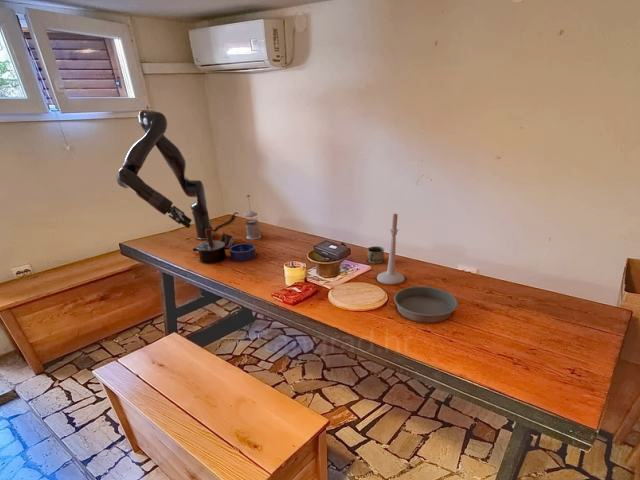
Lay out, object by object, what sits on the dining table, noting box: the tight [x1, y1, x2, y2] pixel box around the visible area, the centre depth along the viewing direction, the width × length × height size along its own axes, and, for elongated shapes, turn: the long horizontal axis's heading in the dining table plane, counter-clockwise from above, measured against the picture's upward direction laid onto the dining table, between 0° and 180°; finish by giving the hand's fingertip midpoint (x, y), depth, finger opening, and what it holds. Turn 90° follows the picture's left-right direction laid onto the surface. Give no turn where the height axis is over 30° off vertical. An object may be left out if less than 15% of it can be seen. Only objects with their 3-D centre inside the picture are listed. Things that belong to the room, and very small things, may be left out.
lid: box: [196, 229, 225, 251], centre depth 192 cm, size 15×15×10 cm
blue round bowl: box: [228, 243, 257, 262], centre depth 199 cm, size 14×14×5 cm
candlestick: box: [376, 213, 405, 285], centre depth 163 cm, size 13×13×30 cm
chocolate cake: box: [219, 230, 235, 247], centre depth 216 cm, size 10×7×12 cm
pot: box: [192, 246, 231, 265], centre depth 196 cm, size 14×19×7 cm
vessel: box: [366, 245, 385, 264], centre depth 189 cm, size 12×9×6 cm
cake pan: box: [393, 285, 459, 324], centre depth 146 cm, size 25×25×4 cm
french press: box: [243, 194, 262, 240], centre depth 220 cm, size 10×12×25 cm
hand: (190, 224), depth 186 cm, fingers open, 8 cm apart
